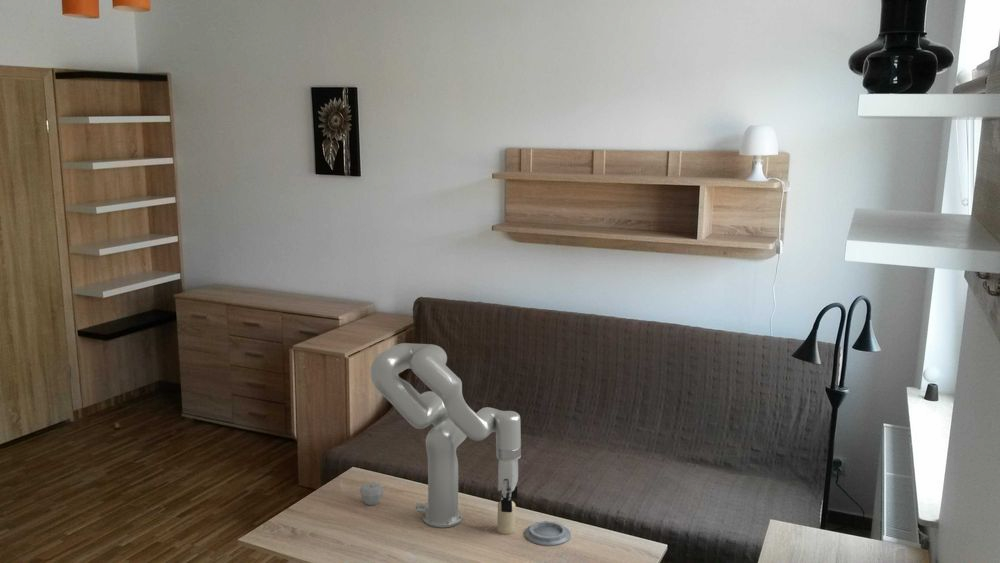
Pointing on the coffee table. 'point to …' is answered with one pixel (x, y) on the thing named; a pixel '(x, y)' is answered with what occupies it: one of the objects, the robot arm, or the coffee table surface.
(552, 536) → the candle dish
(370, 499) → the apple
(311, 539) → the coffee table surface
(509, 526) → the candle
